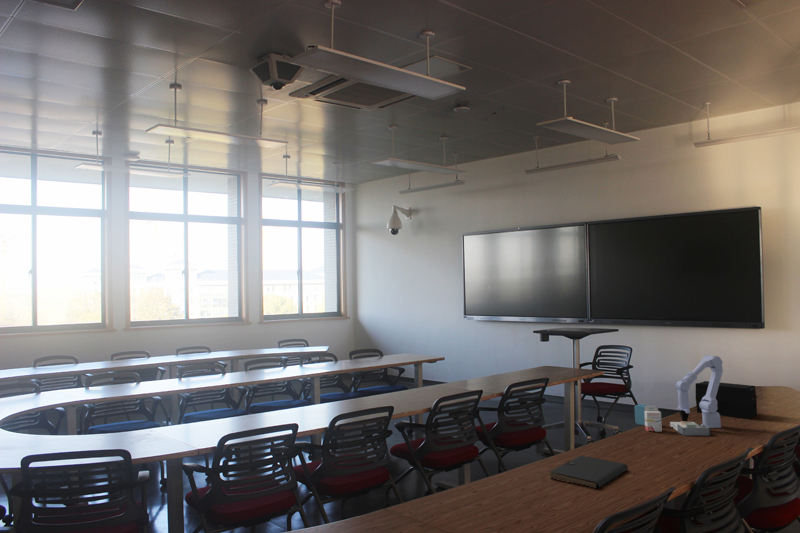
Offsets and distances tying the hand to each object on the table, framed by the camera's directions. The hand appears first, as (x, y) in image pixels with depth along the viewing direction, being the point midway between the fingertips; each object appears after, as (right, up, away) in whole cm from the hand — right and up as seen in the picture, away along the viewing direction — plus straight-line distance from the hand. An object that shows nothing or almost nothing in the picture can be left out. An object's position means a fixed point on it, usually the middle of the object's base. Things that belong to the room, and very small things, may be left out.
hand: (684, 422), depth 347 cm
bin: (-2, -3, -14) cm, 14 cm away
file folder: (-86, -3, -80) cm, 118 cm away
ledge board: (0, -3, -2) cm, 4 cm away
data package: (-19, -5, +12) cm, 23 cm away
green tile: (-1, 0, -8) cm, 9 cm away
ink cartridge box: (-21, -4, -4) cm, 22 cm away
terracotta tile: (0, -1, -4) cm, 4 cm away
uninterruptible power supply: (+46, -4, +32) cm, 56 cm away
